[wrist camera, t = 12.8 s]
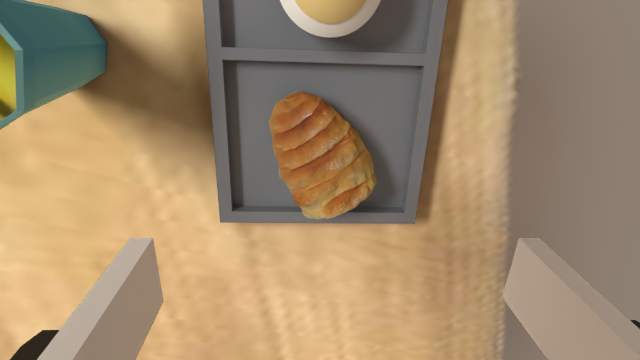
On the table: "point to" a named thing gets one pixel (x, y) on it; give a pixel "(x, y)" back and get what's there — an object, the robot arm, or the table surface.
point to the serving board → (322, 95)
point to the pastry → (320, 156)
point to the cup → (44, 55)
